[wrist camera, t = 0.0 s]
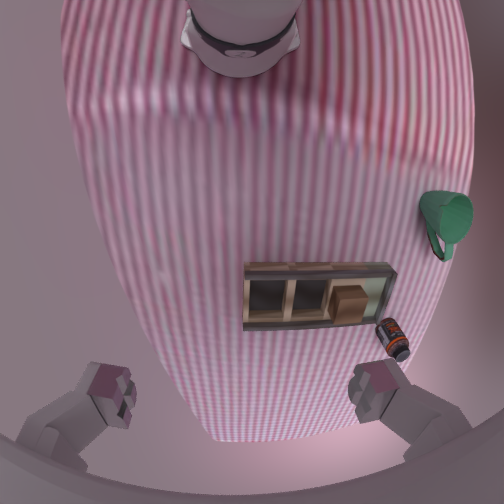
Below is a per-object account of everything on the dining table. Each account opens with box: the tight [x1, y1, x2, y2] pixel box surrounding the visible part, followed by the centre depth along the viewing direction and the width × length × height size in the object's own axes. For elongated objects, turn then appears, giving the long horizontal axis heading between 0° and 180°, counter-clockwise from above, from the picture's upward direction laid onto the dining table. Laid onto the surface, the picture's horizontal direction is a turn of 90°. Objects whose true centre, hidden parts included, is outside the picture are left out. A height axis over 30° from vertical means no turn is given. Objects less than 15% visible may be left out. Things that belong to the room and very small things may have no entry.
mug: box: [420, 191, 473, 262], centre depth 44 cm, size 15×10×10 cm
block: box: [327, 285, 369, 325], centre depth 50 cm, size 6×6×4 cm
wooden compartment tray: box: [242, 262, 398, 331], centre depth 53 cm, size 13×30×5 cm, turn 88°
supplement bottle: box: [376, 318, 410, 362], centre depth 57 cm, size 6×6×11 cm
